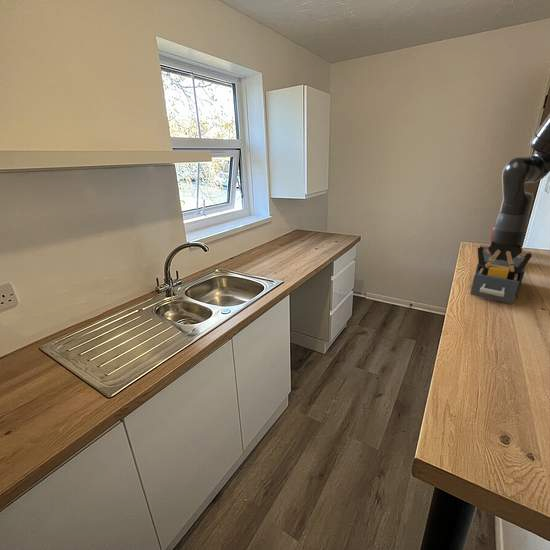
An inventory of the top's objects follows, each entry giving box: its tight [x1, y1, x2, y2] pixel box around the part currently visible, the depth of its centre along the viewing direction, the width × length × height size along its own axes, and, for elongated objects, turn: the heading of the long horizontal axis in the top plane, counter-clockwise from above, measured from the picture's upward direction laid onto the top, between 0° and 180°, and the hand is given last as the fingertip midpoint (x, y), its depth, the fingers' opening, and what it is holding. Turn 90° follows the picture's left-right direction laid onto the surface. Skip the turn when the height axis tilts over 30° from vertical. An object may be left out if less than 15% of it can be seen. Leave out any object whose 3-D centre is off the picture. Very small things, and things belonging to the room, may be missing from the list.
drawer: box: [469, 267, 520, 305], centre depth 97 cm, size 19×11×7 cm, turn 140°
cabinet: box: [475, 252, 527, 298], centre depth 105 cm, size 15×13×9 cm
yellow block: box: [488, 264, 509, 279], centre depth 96 cm, size 5×4×4 cm
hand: (496, 279), depth 97 cm, fingers closed on yellow block, 5 cm apart
